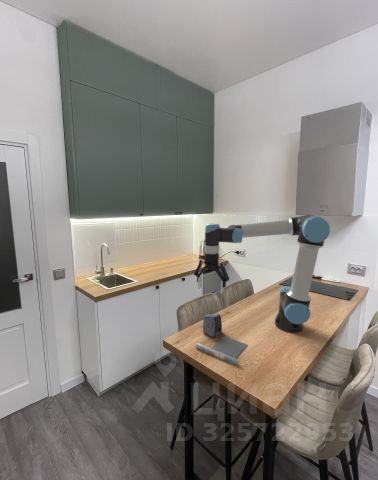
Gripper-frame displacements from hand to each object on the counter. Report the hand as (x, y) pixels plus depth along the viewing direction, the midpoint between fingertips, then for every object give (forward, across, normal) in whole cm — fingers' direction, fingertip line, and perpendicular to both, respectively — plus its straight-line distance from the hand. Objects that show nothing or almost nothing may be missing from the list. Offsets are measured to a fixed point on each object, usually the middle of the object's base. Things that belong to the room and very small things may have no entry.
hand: (210, 290), depth 136 cm
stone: (+23, -3, +4) cm, 23 cm away
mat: (+22, -16, +12) cm, 30 cm away
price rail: (+22, -13, +21) cm, 33 cm away
